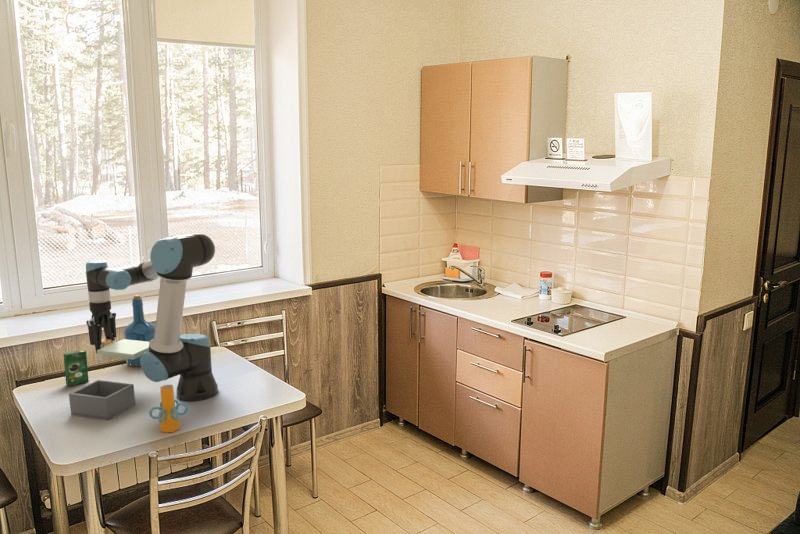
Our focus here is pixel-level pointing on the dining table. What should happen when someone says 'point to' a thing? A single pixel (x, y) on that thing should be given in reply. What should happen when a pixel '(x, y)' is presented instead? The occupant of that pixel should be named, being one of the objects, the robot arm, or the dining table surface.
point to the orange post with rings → (168, 410)
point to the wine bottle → (138, 327)
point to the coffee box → (76, 367)
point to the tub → (102, 399)
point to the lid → (123, 348)
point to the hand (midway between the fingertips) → (105, 358)
